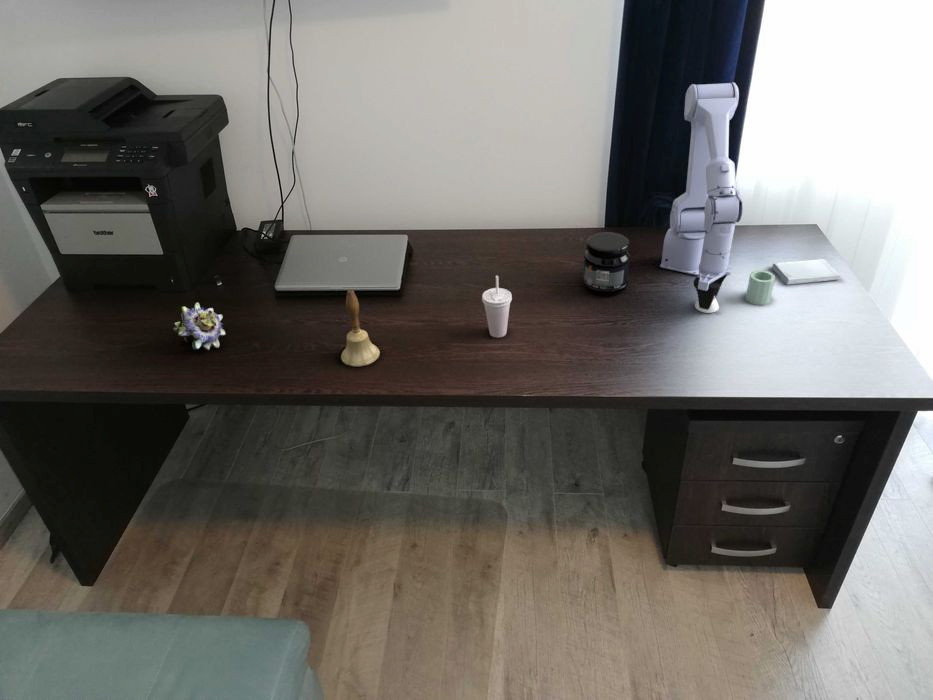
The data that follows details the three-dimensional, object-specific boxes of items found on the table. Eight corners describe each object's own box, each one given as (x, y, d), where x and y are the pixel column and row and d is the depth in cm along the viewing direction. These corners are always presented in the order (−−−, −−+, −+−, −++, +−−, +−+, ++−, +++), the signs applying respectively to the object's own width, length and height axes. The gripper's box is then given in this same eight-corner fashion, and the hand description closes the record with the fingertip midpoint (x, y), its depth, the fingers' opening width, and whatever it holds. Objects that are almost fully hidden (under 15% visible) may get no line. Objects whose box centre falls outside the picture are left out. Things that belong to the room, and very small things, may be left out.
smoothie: (516, 327, 159) (515, 271, 151) (507, 343, 154) (506, 287, 146) (488, 323, 161) (486, 268, 153) (479, 338, 156) (476, 283, 148)
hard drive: (788, 279, 166) (840, 274, 167) (773, 262, 173) (823, 257, 173) (787, 285, 167) (838, 280, 168) (771, 268, 174) (821, 263, 174)
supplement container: (614, 271, 177) (617, 227, 170) (635, 291, 168) (640, 246, 162) (575, 280, 174) (577, 235, 167) (595, 301, 166) (597, 255, 159)
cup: (743, 301, 163) (747, 278, 159) (749, 290, 166) (753, 268, 163) (766, 307, 160) (772, 284, 157) (772, 296, 164) (777, 273, 160)
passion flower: (222, 366, 162) (204, 349, 151) (176, 356, 163) (155, 339, 151) (237, 320, 166) (221, 301, 154) (191, 311, 166) (172, 291, 155)
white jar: (693, 312, 160) (717, 315, 159) (695, 301, 158) (719, 304, 157) (696, 301, 164) (719, 304, 162) (697, 290, 162) (721, 292, 161)
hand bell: (344, 344, 157) (332, 281, 148) (382, 343, 157) (372, 280, 147) (338, 367, 150) (325, 303, 141) (377, 366, 150) (366, 301, 141)
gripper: (726, 267, 146) (716, 323, 154) (744, 238, 156) (734, 292, 163) (691, 260, 149) (683, 315, 157) (712, 232, 159) (703, 285, 167)
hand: (707, 303), depth 160 cm, fingers open, 4 cm apart
